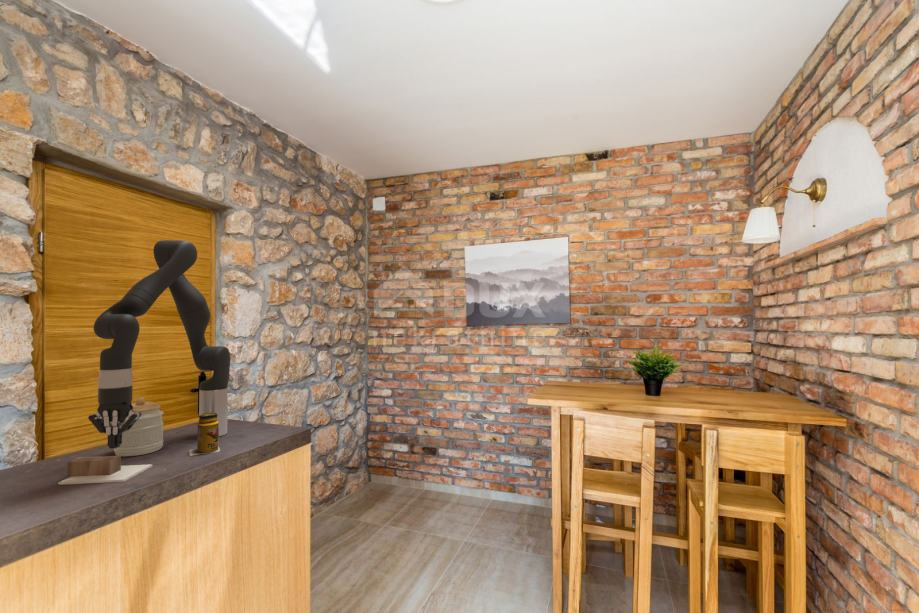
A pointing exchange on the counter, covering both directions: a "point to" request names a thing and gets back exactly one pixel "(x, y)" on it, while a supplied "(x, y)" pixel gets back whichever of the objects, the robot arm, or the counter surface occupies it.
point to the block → (94, 466)
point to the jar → (143, 431)
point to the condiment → (207, 434)
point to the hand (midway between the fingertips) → (114, 447)
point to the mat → (119, 476)
